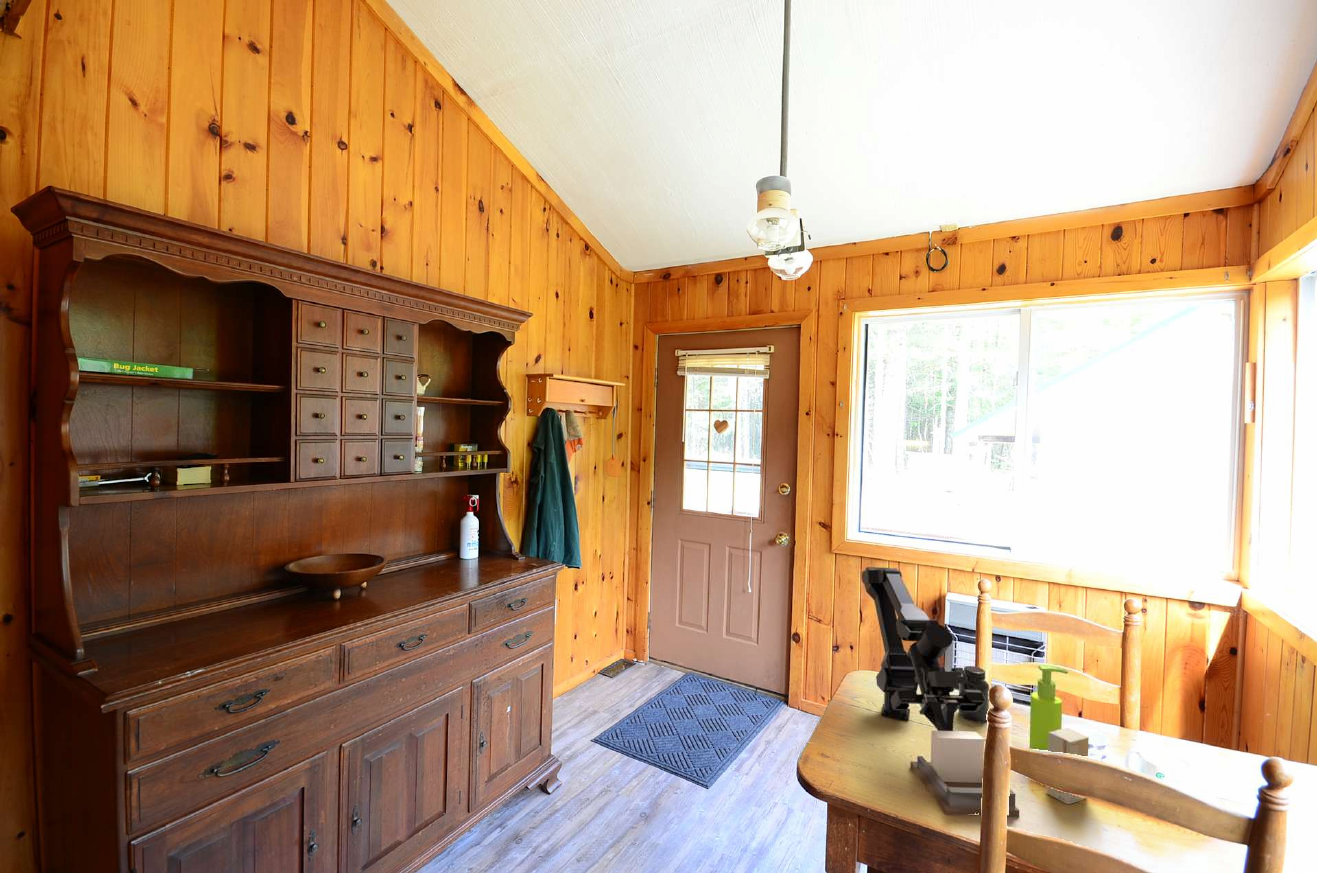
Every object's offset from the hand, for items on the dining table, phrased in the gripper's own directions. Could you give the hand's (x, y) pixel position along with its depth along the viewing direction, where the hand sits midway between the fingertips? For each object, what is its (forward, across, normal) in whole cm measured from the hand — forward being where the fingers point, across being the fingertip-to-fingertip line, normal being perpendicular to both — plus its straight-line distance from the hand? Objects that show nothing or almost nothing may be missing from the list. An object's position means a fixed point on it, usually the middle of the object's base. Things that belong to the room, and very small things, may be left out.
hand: (950, 741), depth 123 cm
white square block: (+6, 0, +3) cm, 6 cm away
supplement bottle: (-14, +20, +25) cm, 35 cm away
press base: (+8, 0, +2) cm, 9 cm away
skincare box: (+9, +21, +1) cm, 23 cm away
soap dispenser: (-1, +26, +12) cm, 29 cm away
